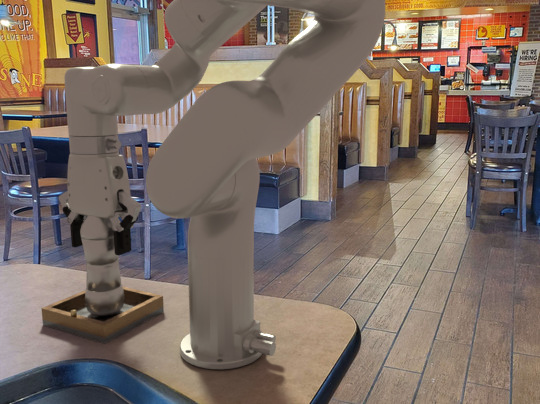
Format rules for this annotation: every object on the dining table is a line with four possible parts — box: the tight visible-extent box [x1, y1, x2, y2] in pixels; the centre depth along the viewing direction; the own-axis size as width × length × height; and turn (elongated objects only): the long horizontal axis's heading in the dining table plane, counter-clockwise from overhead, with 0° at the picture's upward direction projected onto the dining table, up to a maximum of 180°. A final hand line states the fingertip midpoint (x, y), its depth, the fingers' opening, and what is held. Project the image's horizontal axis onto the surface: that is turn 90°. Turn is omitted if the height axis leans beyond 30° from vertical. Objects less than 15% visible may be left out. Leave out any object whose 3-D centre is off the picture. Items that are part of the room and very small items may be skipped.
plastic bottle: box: [80, 216, 125, 316], centre depth 89 cm, size 6×7×20 cm
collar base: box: [41, 286, 164, 345], centre depth 91 cm, size 14×14×4 cm
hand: (101, 249), depth 89 cm, fingers open, 9 cm apart
